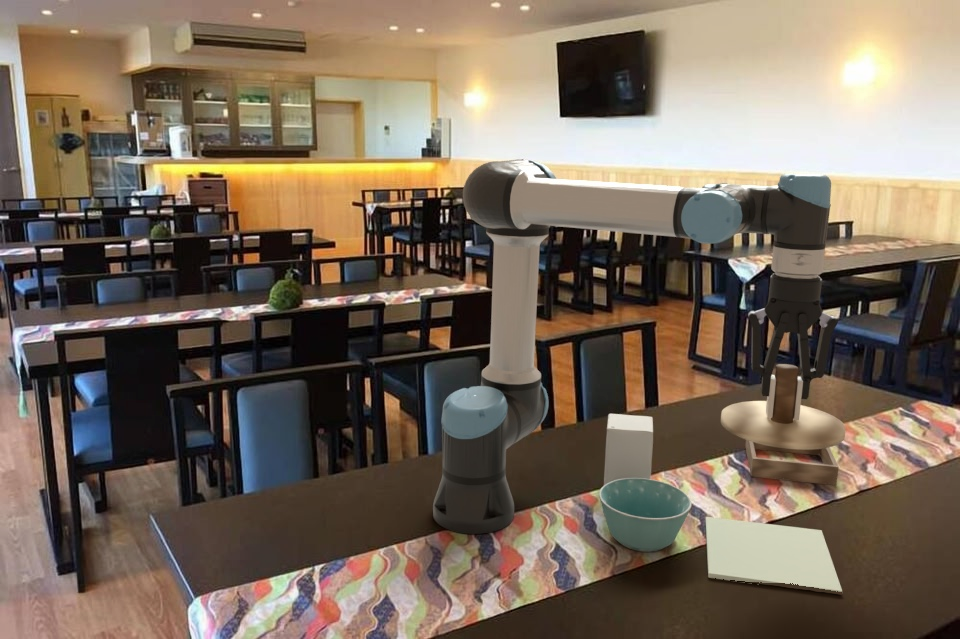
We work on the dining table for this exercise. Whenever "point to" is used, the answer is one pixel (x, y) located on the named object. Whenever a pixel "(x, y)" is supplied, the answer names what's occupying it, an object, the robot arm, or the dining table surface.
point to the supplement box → (628, 447)
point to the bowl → (644, 512)
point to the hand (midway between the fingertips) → (782, 415)
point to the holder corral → (793, 465)
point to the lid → (783, 419)
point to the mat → (769, 554)
